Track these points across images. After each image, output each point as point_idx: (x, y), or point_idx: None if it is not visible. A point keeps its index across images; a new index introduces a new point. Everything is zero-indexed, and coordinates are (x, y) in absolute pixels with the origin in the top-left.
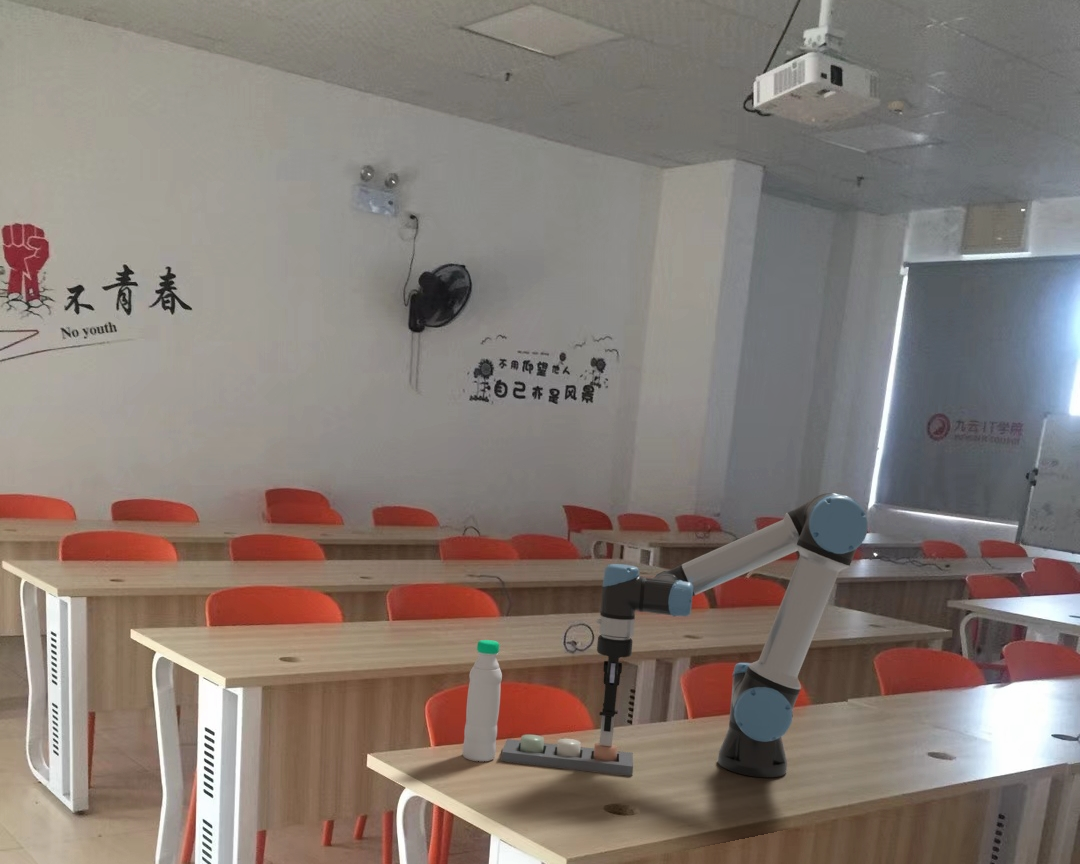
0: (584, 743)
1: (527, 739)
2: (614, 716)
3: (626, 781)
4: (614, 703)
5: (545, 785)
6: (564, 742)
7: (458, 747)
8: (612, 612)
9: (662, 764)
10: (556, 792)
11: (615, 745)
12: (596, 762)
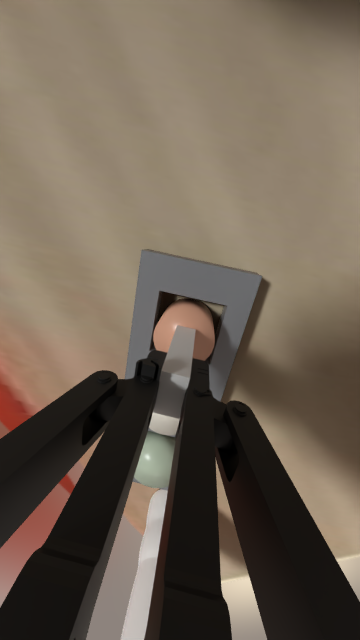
0: (43, 331)
1: (166, 481)
2: (189, 378)
3: (295, 295)
4: (282, 472)
5: (312, 446)
6: (172, 425)
7: (133, 512)
8: None
9: (152, 160)
10: (352, 438)
11: (175, 313)
12: (234, 358)
